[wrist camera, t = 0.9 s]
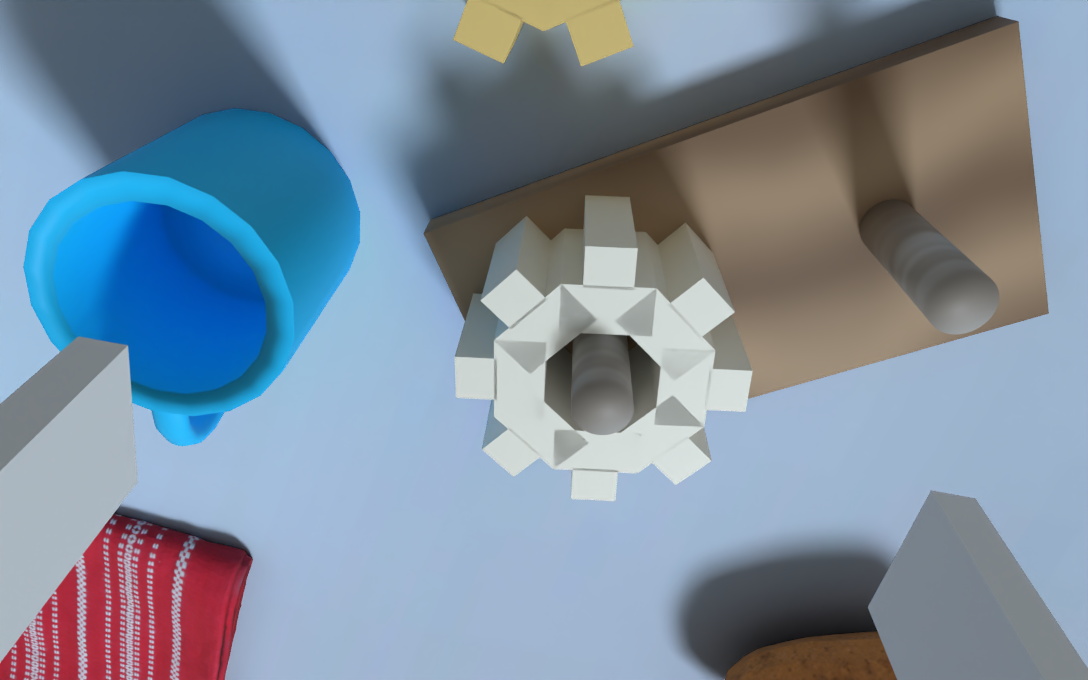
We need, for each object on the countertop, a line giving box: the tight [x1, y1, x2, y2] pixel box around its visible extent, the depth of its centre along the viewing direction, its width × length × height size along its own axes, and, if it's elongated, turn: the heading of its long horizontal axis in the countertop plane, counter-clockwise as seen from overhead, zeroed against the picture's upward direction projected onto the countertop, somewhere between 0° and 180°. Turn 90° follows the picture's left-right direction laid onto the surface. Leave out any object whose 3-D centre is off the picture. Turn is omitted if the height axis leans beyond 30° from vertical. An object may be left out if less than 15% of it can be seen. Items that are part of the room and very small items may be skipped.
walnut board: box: [424, 16, 1049, 435], centre depth 28 cm, size 11×21×8 cm, turn 111°
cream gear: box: [455, 195, 753, 501], centre depth 29 cm, size 10×10×5 cm
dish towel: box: [0, 514, 253, 680], centre depth 42 cm, size 17×24×3 cm
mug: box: [24, 108, 360, 446], centre depth 29 cm, size 12×8×8 cm
